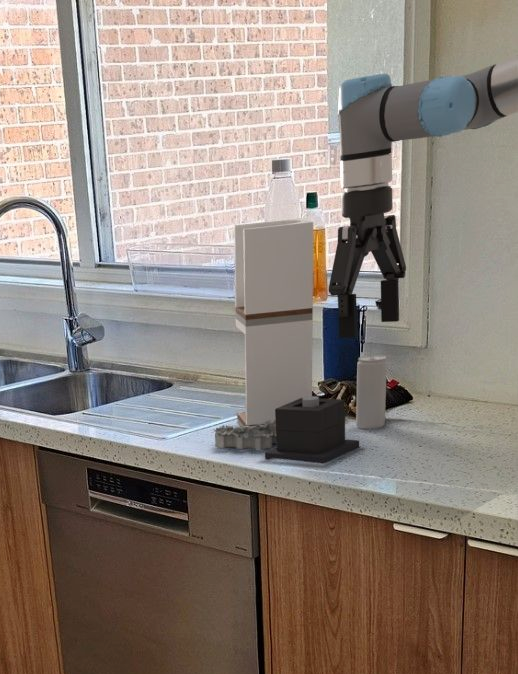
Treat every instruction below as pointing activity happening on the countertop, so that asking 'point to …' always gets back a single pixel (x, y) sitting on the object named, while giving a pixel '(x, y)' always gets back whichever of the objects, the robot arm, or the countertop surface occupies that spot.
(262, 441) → the egg carton
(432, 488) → the countertop surface
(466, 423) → the countertop surface
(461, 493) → the countertop surface
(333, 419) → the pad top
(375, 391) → the beverage can
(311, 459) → the black base with peg
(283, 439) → the black square ring block
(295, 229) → the striped white tower
